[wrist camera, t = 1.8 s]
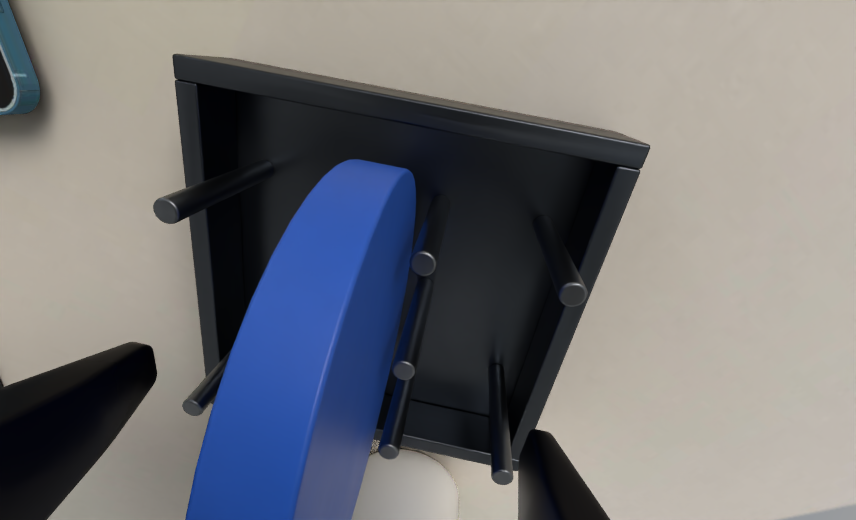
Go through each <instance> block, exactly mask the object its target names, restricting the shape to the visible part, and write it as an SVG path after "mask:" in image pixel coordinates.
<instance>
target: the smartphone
mask: <svg viewBox="0 0 856 520" xmlns="http://www.w3.org/2000/svg"><path fill="white" fill-rule="evenodd" d="M39 98H40V87H39V82H38V79H37V76H36V74H35V71H34V68H33V66H32V63H31V61H30V58H29V55H28V53H27V50H26V47H25V45H24V42H23V40H22V37H21V34H20V32H19V29H18V26H17V24H16V21H15V19H14V16H13V13H12V11H11V8H10V5H9V3H8V0H0V115H10V114H25V113H29V112H31V111H32V110H34V109H35V107H36V106H37V104H38V102H39Z"/></svg>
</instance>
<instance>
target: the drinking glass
mask: <svg viewBox="0 0 856 520" xmlns="http://www.w3.org/2000/svg"><path fill="white" fill-rule="evenodd" d="M458 519H459V493H458V488H457V485H456V483H455V480H454V479H453V477H452V475H451V474H450V473H449V471H448V470H447V469H446V468H445V467H444V466H443V465H442V464H440V463H439V462H438V461H436V460H434V459H433V458H431V457H429V456H427V455H424V454H422V453H419V452H415V451H411V450H405V449H400V451H399V455H398V456H397V457H396V458H395V459H391V460H389V459H385V458H383V457H381V456H380V454H379V452H376V453H374V454H371V455H370V456H369V458H368V462H367V465H366V469H365V473H364V476H363V480H362V484H361V487H360V491H359V495H358V498H357V502H356V505H355V509H354V512H353V515H352V519H351V520H458Z"/></svg>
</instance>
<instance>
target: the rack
mask: <svg viewBox="0 0 856 520" xmlns="http://www.w3.org/2000/svg"><path fill="white" fill-rule="evenodd" d="M173 66H174V75H175V78H176V79H178V80H175V87H176V97H177V106H178V116H179V126H180V135H181V145H182V154H183V164H184V173H185V183H186V188H185V189H182V190H180V191H177V192H175V193H172V194H169V195H167V196H164V197H161V198H159V199H157V200H156V201H155V203H154V205H153V209H154V213H155V215H156V216H157V217H158V218H159V219H160V220H161V221H162V222H164V223H168V224H174V223H177V222H179V221H181V220H183V219H185V218H187V217H189V221H190V230H191V240H192V249H193V259H194V268H195V278H196V287H197V297H198V307H199V316H200V326H201V335H202V345H203V354H204V364H205V373H206V378H205V379H204V380H203V381H202V382H201V383H200V384H199V386H198V387H197V388H196V389H195V390H194V391H193V392H192V393H191V394H190V395H189V397H188V398H187V399H186V400H185V401H184V402H183V405H182V407H183V409H184V411H185V412H186V413H188V414H189V415H192V416H198V415H200V414H202V413H203V411H204V410H205V409H206V408H207V407H208V405H209V404H210V403H212V404H214V401H215V398H216V395H217V392H218V389H219V386H220V383H221V380H222V377H223V374H224V371H225V368H226V365H227V362H228V359H229V356H230V352H231V350H232V347H233V345H234V342H235V340H236V337H237V335H238V332H239V330H240V327H241V324H242V322H243V319H244V317H245V314H246V312H247V309H248V307H249V304H250V301H251V299H252V297H253V295H254V293H255V290H256V288H257V286H258V284H259V282H260V280H261V277H262V275H263V273H264V271H265V269H266V267H267V264H268V262H269V260H270V258H271V256H272V254H273V252H274V250H275V248H276V247H277V245H278V243H279V241H280V239H281V238H282V236H283V234H284V232H285V230H286V228H287V227H288V225H289V223H290V221H291V219H292V218H293V216H294V215H295V213H296V212H297V210H298V209H299V207H300V206H301V204H302V203H303V201H304V200H305V198H306V197H307V195H308V194H309V193H310V192H311V190H312V189H313V188H314V187H315V186H316V184H317V183H318V182H319V181H320V180H321V179H322V177H323V176H324V175H325V174H327V173H328V172H329V171H330V170H331V169H333V168H334V167H335V166H336V165H338V164H340V163H342V162H344V161H347V160H350V159H359V160H364V161H369V162H375V163H380V164H385V165H390V166H395V167H400V168H405V169H408V170H409V171H410V172H411V173H412V174H413V177H414V180H415V187H416V213H415V226H414V236H413V244H412V252H411V257H410V260H409V264H410V266H409V272H408V279H407V285H406V291H405V296H404V302H403V307H402V313H401V318H400V323H399V328H398V333H397V338H396V343H395V348H394V353H393V357H392V362H391V367H390V371H389V376H388V380H387V385H386V389H385V393H384V397H383V402H382V406H381V410H380V414H379V418H378V422H377V426H376V430H375V434H374V438H373V439H374V440H378V441H380V444H379V448H378V451H379V454H380V456H381V457H383V458H385V459H389V460H391V459H395V458H396V457H397V456H398V455H399V451H400V447H401V446H405V447H410V448H414V449H419V450H423V451H428V452H432V453H437V454H441V455H446V456H450V457H455V458H459V459H464V460H468V461H473V462H477V463H482V464H486V465H491V476H492V479H493V481H494V482H495V483H497V484H500V485H506V484H509V483H511V482H512V480H513V471H518V467H519V457H520V453H521V451H522V448H523V446H524V443H525V441H526V438H527V436H528V433H529V432H530V430H532V429H535V428H536V426H537V423H538V421H539V418H540V416H541V413H542V411H543V408H544V406H545V404H546V401H547V399H548V396H549V394H550V391H551V389H552V386H553V384H554V382H555V379H556V377H557V374H558V372H559V369H560V367H561V364H562V362H563V360H564V357H565V355H566V352H567V350H568V347H569V345H570V342H571V340H572V338H573V335H574V333H575V330H576V328H577V325H578V323H579V320H580V318H581V316H582V313H583V311H584V308H585V306H586V303H587V301H588V299H589V296H590V294H591V291H592V289H593V286H594V284H595V281H596V279H597V277H598V274H599V272H600V269H601V267H602V264H603V262H604V259H605V257H606V255H607V252H608V250H609V247H610V245H611V242H612V240H613V237H614V235H615V233H616V230H617V228H618V225H619V223H620V220H621V218H622V215H623V213H624V211H625V208H626V206H627V203H628V201H629V198H630V196H631V194H632V191H633V189H634V186H635V184H636V181H637V179H638V176H639V174H640V170H639V169H641V168H642V167H643V164H644V162H645V159H646V157H647V154H648V152H649V150H650V145H648V144H646V143H643V142H641V141H638V140H636V139H633V138H631V137H628V136H626V135H623V134H621V133H618V132H615V131H610V130H605V129H599V128H594V127H589V126H584V125H579V124H573V123H568V122H563V121H558V120H552V119H547V118H542V117H537V116H531V115H526V114H521V113H516V112H510V111H505V110H500V109H495V108H490V107H484V106H479V105H474V104H469V103H463V102H458V101H453V100H448V99H442V98H437V97H432V96H427V95H422V94H416V93H411V92H406V91H401V90H395V89H390V88H385V87H380V86H374V85H369V84H364V83H359V82H353V81H348V80H343V79H338V78H333V77H327V76H322V75H317V74H312V73H306V72H301V71H296V70H291V69H285V68H280V67H275V66H270V65H265V64H259V63H254V62H249V61H244V60H238V59H233V58H223V57H210V56H197V55H184V54H174V55H173Z"/></svg>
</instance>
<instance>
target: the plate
mask: <svg viewBox="0 0 856 520" xmlns="http://www.w3.org/2000/svg"><path fill="white" fill-rule="evenodd" d="M415 213H416V187H415V180H414V177H413V174H412V173H411V172H410V171H409V170H408V169H405V168H400V167H395V166H390V165H385V164H380V163H375V162H369V161H364V160H359V159H350V160H347V161H344V162H342V163H340V164H338V165H336V166H335V167H334V168H333V169H331V170H330V171H329V172H328V173H327V174H325V175H324V176H323V177H322V179H321V180H320V181H319V182H318V183H317V184H316V186H315V187H314V188H313V189H312V190H311V192H310V193H309V194H308V195H307V197H306V198H305V200H304V201H303V203H302V204H301V206H300V207H299V209H298V210H297V212H296V213H295V215H294V216H293V218H292V219H291V221H290V223H289V225H288V227H287V228H286V230H285V232H284V234H283V236H282V238H281V239H280V241H279V243H278V245H277V247H276V248H275V250H274V252H273V254H272V256H271V258H270V260H269V262H268V264H267V267H266V269H265V271H264V273H263V275H262V277H261V280H260V282H259V284H258V286H257V288H256V290H255V293H254V295H253V297H252V299H251V301H250V304H249V307H248V309H247V312H246V314H245V317H244V319H243V322H242V324H241V327H240V330H239V332H238V335H237V337H236V340H235V342H234V345H233V347H232V350H231V352H230V356H229V359H228V362H227V365H226V368H225V371H224V374H223V377H222V380H221V383H220V386H219V389H218V392H217V395H216V398H215V401H214V404H213V407H212V410H211V414H210V418H209V421H208V425H207V429H206V432H205V436H204V440H203V444H202V447H201V451H200V455H199V459H198V462H197V466H196V470H195V474H194V479H193V484H192V489H191V494H190V499H189V504H188V509H187V514H186V519H185V520H351V519H352V515H353V512H354V509H355V505H356V502H357V498H358V495H359V491H360V487H361V484H362V480H363V476H364V473H365V469H366V465H367V462H368V458H369V454H370V450H371V446H372V442H373V438H374V434H375V430H376V426H377V422H378V418H379V414H380V410H381V406H382V402H383V397H384V393H385V389H386V385H387V380H388V376H389V371H390V367H391V362H392V357H393V353H394V348H395V343H396V338H397V333H398V328H399V323H400V318H401V313H402V307H403V302H404V296H405V291H406V285H407V279H408V272H409V266H410V264H409V260H410V257H411V252H412V244H413V236H414V226H415Z"/></svg>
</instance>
